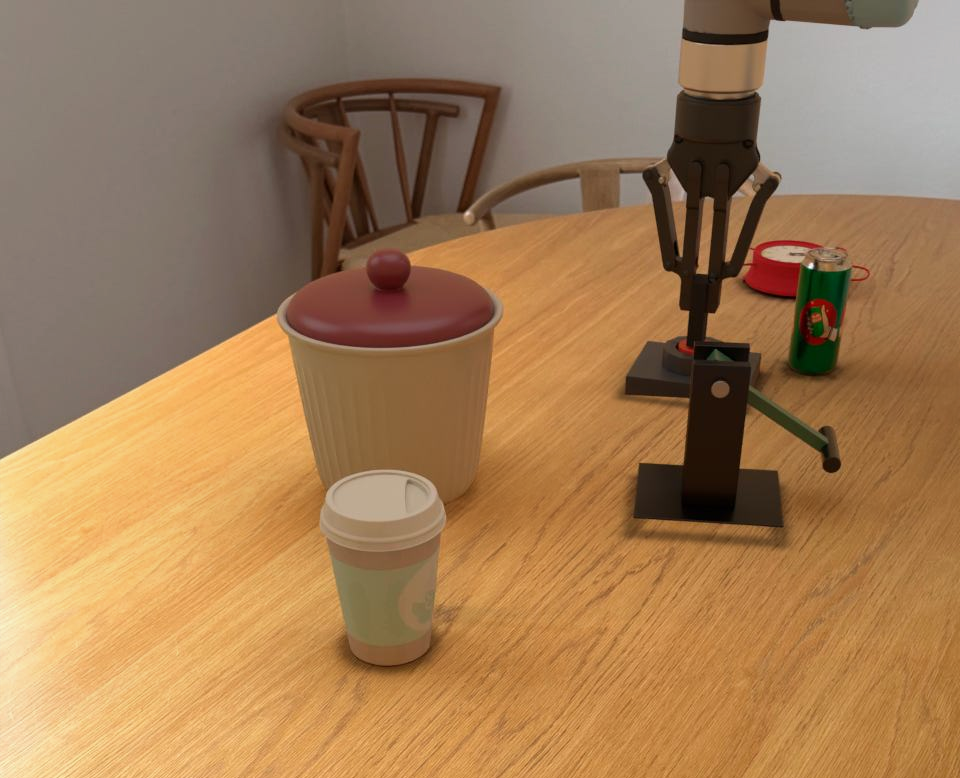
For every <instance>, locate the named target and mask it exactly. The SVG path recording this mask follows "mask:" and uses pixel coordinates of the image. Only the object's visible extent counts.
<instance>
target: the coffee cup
mask: <svg viewBox="0 0 960 778" xmlns="http://www.w3.org/2000/svg"><path fill="white" fill-rule="evenodd" d="M319 517H320V518H319V521H318V524H319V529H320V531H321V533H322V534H323V536H324V537H325V538H326V544H327V548H328V553H329V557H330V562H331V567H332V571H333V575H334V581H335V585H336V590H337V594H338V599H339V604H340V609H341V613H342V617H343V621H344V626H345V631H346V635H347V639H348V644H349V648H350V651H351V652H352V654H353V655H354V656H355V657H357V658H358V659H359V660H361V661H362V662H365V663H368V664H372V665H376V666H384V667H385V666H389V667H391V666H398V665H403V664H404V665H405V664H407V663H410V662H413V661H415V660H417V659H419V658H420V657H422V656H423V655H424V654H425V653H426V652H427V651H428V650H429V648H430V646H431V639H432V631H433V622H434V621H433V620H434V610H435V600H436V588H437V580H438V570H439V569H438V568H439V558H440V547H441V537H442V536H441V535H442V530H443V529H444V528H445V526H446V523H447V513H446V511H445V504H444V505H443V503H442V501H441V500H440V498H439V496H438V493H437V490H436V488H435V486H434V485H433V484H432V483H431V482H430V481H429V480H427V479H426V478H424V477H422V476H420V475H417V474H414V473H410V472H406V471H399V470H373V471H366V472H361V473H357V474H353V475H350V476H348V477H345V478H343V479H341V480H339V481H338V482H336V483H335V484H334V485H332V486H331V487H330V489H329V490H328V491H326V494H325V498H324V503H323V505H322V506H321V509H320V515H319Z"/></svg>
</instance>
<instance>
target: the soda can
mask: <svg viewBox="0 0 960 778" xmlns="http://www.w3.org/2000/svg"><path fill="white" fill-rule="evenodd" d="M835 248H836V247H825V248H814V249H810V250H808V251H807V252H806V257H805V258H804V259H803V260H802V262H801V265H800V273H799V280H798V288H797V295H796V296H795V303H794V311H793V318H792V325H791V334H790V341H789V348H788V355H787V363H788V365H789V367H790V368H791V370H793V371H794V372H796V373H799V374H801V375H807V376H823V375H827V374H830V373H831V372H833V371H834V370H835V369H836V368H837V366H838V362H839V356H840V355H839V354H840V351H841V350H840V349H841V344H842V343H841V342H842V338H843V337H842V336H843V330H844V324H845V318H846V311H847V305H848V298H849V291H850V286H851V281H850V280H851V279H852V273H853V266H852V265H853V263H852V261H851V260H850V259H851V254H850V253H849V252H848V251H847V252H846V251H843V250H840V249H835ZM851 263H852V264H851Z"/></svg>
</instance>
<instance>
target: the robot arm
mask: <svg viewBox="0 0 960 778" xmlns="http://www.w3.org/2000/svg"><path fill="white" fill-rule="evenodd" d="M683 1H684V4H683V20H682V30H681V38H680V51H679V63H678V73H677V74H678V76H677V83H678V86H680V87H682V88H683V89H682V90H681V91H679V93H678V94H677V95H676V105H675V117H674V128H673V139H672V143H671V144H670V147H669V148H668V150H667V152H666V156H665V157H664V158H662V159H660V160H659V161H657V162H650V164H648V166H646V168H645V169H644V170H643V171H642V174H641V177H642V180H643V182H644V184H645V185H646V187H647V189H648V191H649V192H650V195H651V201H652V205H653V214H654V218H655V223H656V224H655V225H656V231H657V237H658V243H659V250H660V256H661V261H662V267H663V269H664V271H666V272H668V273H670V272H672V273H674V274H676V275H677V276H678V277H679V278H680V290H679V301H678V307H679V310H680V311H685V312H688V320H687V332H686V336H687V341H686V346H688V347H694V341H705V339H706V337H707V330H708V329H707V328H708V319H709V314H713V315H714V314H716V313H717V310H718V309H719V307H720V305H721V297H722V290H723V289H722V287H723V281H724V280H725V279H726V280H727V279H730V278H732V279H733V278H735V279H736V278H737V277H739V275H740V274H741V271H742V269H743V267H744V266H743V265H744V264H745V262H746V259H747V257H748V253H749V252H750V249H749V248H751V245H752V243H753V240H754V237H755V235H756V232H757V229H758V227H759V224H760V221H761V219H762V215H763V213H764V210H765V208H766V205H767V202H768V200H769V199H771V197H772V195H773V194H774V193H775V192H776V191H777V189H778V187H779V186H780V183H781V181H782V179H783V177H782V174H781V173H780V172H778V171H771V170H770V169H769V168H768V167H767V166H765V165H764V163H762V162H761V153H760V151H759V148H758V141H757V140H758V132H759V123H760V114H761V106H762V97H761V96H760V93H758V92H757V91H759V89H761V87H762V86H763V85H764V79H765V78H764V77H765V69H766V58H767V50H768V40H769V33H770V30H769V29H770V24H771V21H775V22H776V21H777V22H786V21H787V22H799V23H811V24H821V25H822V24H823V25H833V26H835V25H836V26H845V27H857V28H859V30H870V29H873V28H894V29H895V28H901V27H903V26H905V25H906V24H907V23H909V21H911V19H912V17H914V13H915V9H917V8H918V4H919V2H920V0H683ZM671 170H672V173H673V174H674V176H675V177H676V179H677V181H678V182H679V184H680V186H681V188H682V189H683V191H684V192H685V193H686V199H685V209H686V210H685V221H684V231H683V232H684V233H683V243H682V256H681V255H680V247H679V241H678V235H677V228H676V221H675V214H674V209H673V203H672V196H671V189H670V185H669V182H670V180H671V178H672V175H671ZM751 176H753V182H752V184H751V188H752V190H753V192H755V194H754V196H753V197H752V200H751V202H750V204H749V207H748V210H747V213H746V215H745V219H744V221H743V224H742V227H741V230H740V232H739V235H738V238H737V241H736V244H735V246H734V249H733V252H732V255H731V258H730V260H728V261H726V257H727V256H726V255H727V245H728V237H729V236H728V235H729V226H730V216H731V206H732V201H733V196H734V195H735V194H736V193H737V192H738V191H739V190H740V188H741V187H743V185H744V184H745V183H746V181H747V180H748V179H749V178H750V177H751ZM706 198H711V199H713V204H712V205H713V206H712V210H713V212H712V224H711V225H712V226H711V235H710V246H709V256H708V257H709V258H708V268H707V273H698V272H697V270H698V269H699V268H700V267H699V266H700V264H699V259H700V247H701V238H702V237H701V235H702V225H703V214H704V205H705V200H706Z"/></svg>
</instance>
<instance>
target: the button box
mask: <svg viewBox="0 0 960 778" xmlns="http://www.w3.org/2000/svg"><path fill="white" fill-rule="evenodd" d="M686 339H687V335H683V336H682V335H681V336H676V337H673V338H671V339H668V340H666V341H665V342H662V341H661V342H660V341H652V340H647V341H646V343H645V344H644V346H643V348H642V349H641V350H640V352H639V353H638V356H637V357H636V359H635V360H634V362H633V364H632V366H631V367H630V369H629V370H628V372H627V373H626V375H625V387H624V395H625V396H637V397H638V396H640V397H660V398H681V399H689V396H690V385H691V373H692V362H693V355H690V354H685V353H682V352H680V351H678V347H679V343H680V342H681V341H683V340H686ZM705 340H708V341H710V342H724V341H723V340H720V339H717V338H714V337H712V336H706V339H705ZM749 362H751V376H750V384H749V385H750V386H752V387H753V388H755V385H756V382H757V380H758V377H759V375H760V370H761V363H762V353H761V352H753V351H750V353H749Z"/></svg>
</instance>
